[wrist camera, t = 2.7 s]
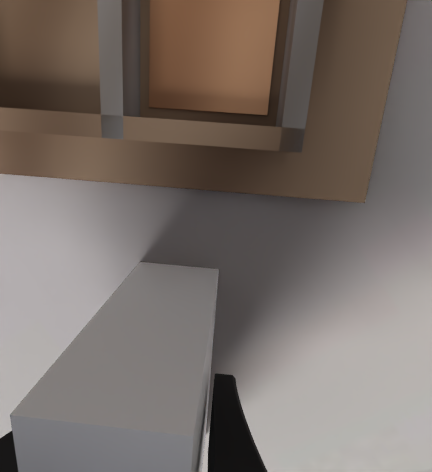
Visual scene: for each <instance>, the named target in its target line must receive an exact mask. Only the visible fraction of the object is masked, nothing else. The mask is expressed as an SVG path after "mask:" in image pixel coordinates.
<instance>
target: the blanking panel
mask: <svg viewBox="0 0 432 472" xmlns="http://www.w3.org/2000/svg"><path fill="white" fill-rule="evenodd" d="M218 275H219V269H212V268H201V267H190V266H179V265H168V264H157V263H147V262H140V263H139V264H138V265H137V266H136V267H135V268H134V270H133V271H132V272H131V273H130V274H129V276H128V277H127V278H126V279H125V280H124V281H123V283H122V284H121V285H120V286H119V287H118V288H117V290H116V291H115V292H114V293H113V294H112V296H111V297H110V298H109V299H108V300H107V301H106V303H105V304H104V305H103V306H102V307H101V308H100V310H99V311H98V312H97V313H96V314H95V316H94V317H93V318H92V319H91V320H90V321H89V323H88V324H87V325H86V326H85V327H84V328H83V330H82V331H81V332H80V333H79V334H78V336H77V337H76V338H75V339H74V340H73V341H72V343H71V344H70V345H69V346H68V347H67V348H66V350H65V351H64V352H63V353H62V354H61V356H60V357H59V358H58V359H57V360H56V361H55V363H54V364H53V365H52V366H51V367H50V368H49V370H48V371H47V372H46V373H45V374H44V376H43V377H42V378H41V379H40V380H39V381H38V383H37V384H36V385H35V386H34V387H33V389H32V390H31V391H30V392H29V393H28V394H27V396H26V397H25V398H24V399H23V400H22V401H21V403H20V404H19V405H18V406H17V407H16V409H15V410H14V411H13V412H12V413H11V414H10V418H11V425H12V432H13V439H14V445H15V452H16V459H17V466H18V472H202V465H203V456H204V447H205V438H206V427H207V414H208V401H209V389H210V376H211V363H212V351H213V338H214V326H215V313H216V300H217V288H218Z"/></svg>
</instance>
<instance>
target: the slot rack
mask: <svg viewBox="0 0 432 472" xmlns="http://www.w3.org/2000/svg"><path fill="white" fill-rule="evenodd" d="M406 3H407V0H0V174H12V175H25V176H37V177H49V178H62V179H74V180H87V181H99V182H111V183H124V184H136V185H149V186H161V187H173V188H186V189H198V190H211V191H223V192H235V193H248V194H260V195H273V196H285V197H297V198H310V199H322V200H335V201H347V202H359V203H365V199H366V194H367V190H368V185H369V180H370V175H371V171H372V166H373V161H374V156H375V151H376V147H377V142H378V137H379V132H380V128H381V123H382V118H383V113H384V108H385V104H386V99H387V94H388V89H389V85H390V80H391V75H392V70H393V65H394V61H395V56H396V51H397V46H398V42H399V37H400V32H401V27H402V22H403V18H404V13H405V8H406Z"/></svg>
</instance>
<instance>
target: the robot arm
mask: <svg viewBox="0 0 432 472" xmlns="http://www.w3.org/2000/svg"><path fill="white" fill-rule="evenodd" d="M0 472H18V466H17V459H16V452H15V445H14V439H13V432H12V431H11V432H9V433H8V434H6V435H5V436H3V437H2V438H0ZM208 472H267V470H266V468H265V466H264V463H263V461H262V459H261V457H260V454H259V452H258V450H257V447H256V445H255V443H254V440H253V438H252V435H251V433H250V430H249V427H248V424H247V422H246V419H245V416H244V413H243V410H242V407H241V403H240V400H239V396H238V392H237V387H236V381H235V378H234V377H233V375H224V374H215V379H214V388H213V400H212V411H211V423H210V435H209V447H208Z"/></svg>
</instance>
